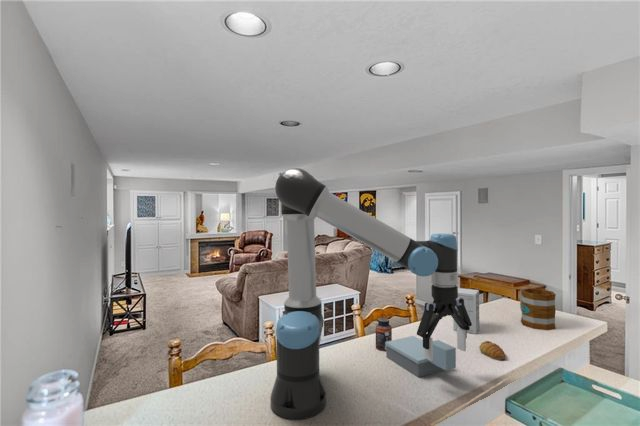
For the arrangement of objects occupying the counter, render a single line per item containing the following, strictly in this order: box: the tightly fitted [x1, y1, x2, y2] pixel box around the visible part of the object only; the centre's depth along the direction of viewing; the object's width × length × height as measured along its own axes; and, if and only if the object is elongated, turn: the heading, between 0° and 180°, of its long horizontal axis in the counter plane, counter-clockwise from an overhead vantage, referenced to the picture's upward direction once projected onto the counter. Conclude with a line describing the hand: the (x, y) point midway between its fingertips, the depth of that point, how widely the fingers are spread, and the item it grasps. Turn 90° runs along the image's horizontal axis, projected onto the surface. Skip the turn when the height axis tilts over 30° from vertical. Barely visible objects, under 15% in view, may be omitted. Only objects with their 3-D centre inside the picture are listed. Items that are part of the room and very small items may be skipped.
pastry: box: [479, 340, 507, 361], centre depth 123 cm, size 9×7×4 cm
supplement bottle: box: [375, 317, 393, 352], centre depth 128 cm, size 6×6×11 cm
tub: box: [385, 346, 445, 379], centre depth 116 cm, size 12×16×5 cm
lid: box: [385, 335, 457, 372], centre depth 113 cm, size 13×24×6 cm, turn 26°
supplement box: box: [452, 287, 480, 335], centre depth 149 cm, size 10×9×17 cm
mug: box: [519, 287, 557, 331], centre depth 157 cm, size 20×14×15 cm
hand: (445, 354), depth 104 cm, fingers open, 13 cm apart
